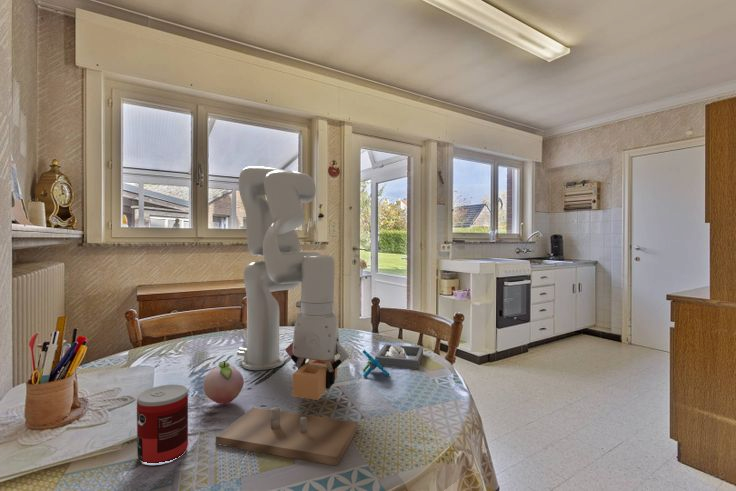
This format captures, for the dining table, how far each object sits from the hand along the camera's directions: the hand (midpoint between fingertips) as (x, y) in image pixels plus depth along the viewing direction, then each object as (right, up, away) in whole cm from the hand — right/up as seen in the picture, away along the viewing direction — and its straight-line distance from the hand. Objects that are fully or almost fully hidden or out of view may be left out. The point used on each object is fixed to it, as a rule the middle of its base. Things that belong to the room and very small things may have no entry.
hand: (316, 383), depth 84 cm
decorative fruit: (-21, -5, -1) cm, 22 cm away
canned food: (-24, -5, -20) cm, 32 cm away
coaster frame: (+22, -4, +31) cm, 38 cm away
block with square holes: (0, -1, 0) cm, 1 cm away
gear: (+14, -5, +17) cm, 23 cm away
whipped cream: (+21, -5, +31) cm, 38 cm away
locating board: (-3, -5, -14) cm, 15 cm away
